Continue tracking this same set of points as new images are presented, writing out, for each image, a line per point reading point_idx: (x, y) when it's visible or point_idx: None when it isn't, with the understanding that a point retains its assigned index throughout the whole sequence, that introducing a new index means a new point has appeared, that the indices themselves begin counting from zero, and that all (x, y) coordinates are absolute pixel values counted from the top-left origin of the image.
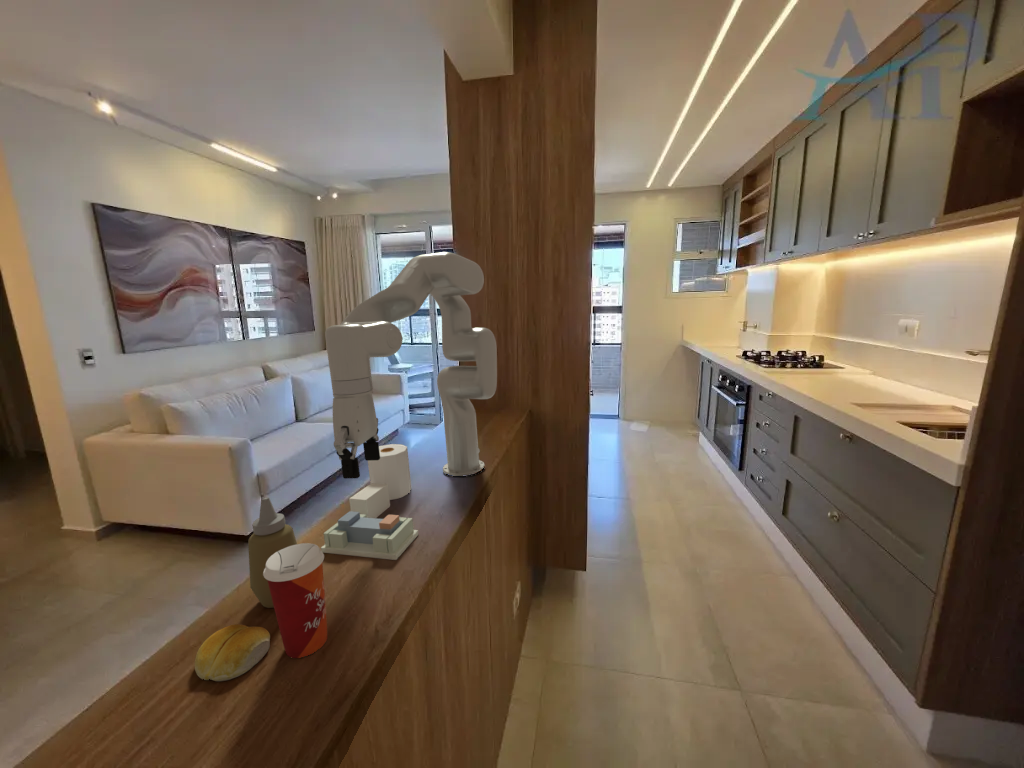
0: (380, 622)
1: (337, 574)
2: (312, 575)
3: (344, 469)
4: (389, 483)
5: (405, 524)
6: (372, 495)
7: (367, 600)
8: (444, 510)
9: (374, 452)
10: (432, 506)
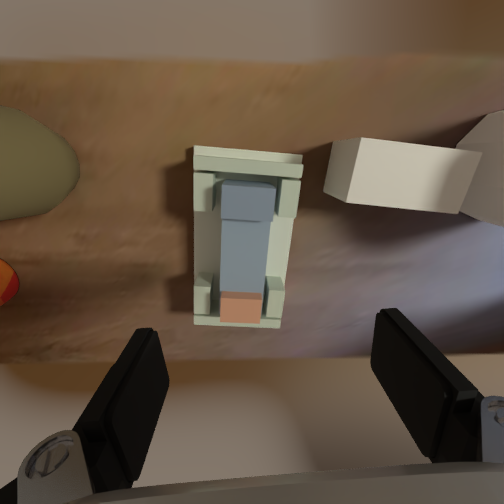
0: (63, 344)
1: (136, 229)
2: None
3: (99, 387)
4: (489, 194)
5: (252, 325)
6: (377, 205)
7: (93, 310)
8: (370, 324)
9: (392, 388)
10: (392, 296)
